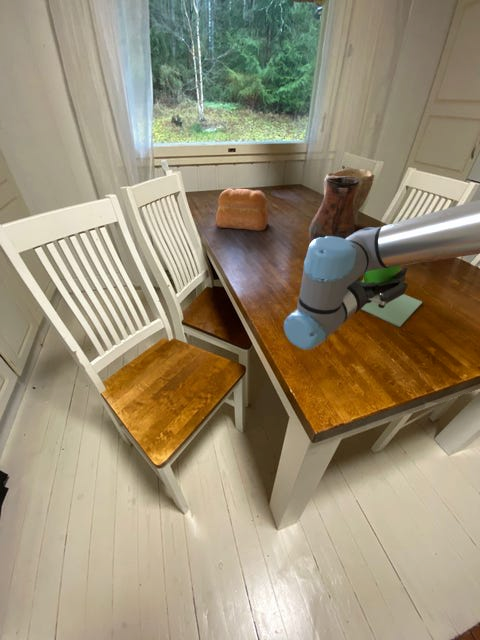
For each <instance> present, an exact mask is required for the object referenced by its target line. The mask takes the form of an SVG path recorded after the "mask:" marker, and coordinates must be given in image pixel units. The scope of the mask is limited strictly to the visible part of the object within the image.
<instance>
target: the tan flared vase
mask: <svg viewBox="0 0 480 640" xmlns="http://www.w3.org/2000/svg"><path fill="white" fill-rule="evenodd" d="M337 177H345V178H348V179H354V180H358V181H359V184H357V187H356V191H355V195H354V200H353V216H354V218H355V217H356V216H357V213H358V212H359V210H360V209H361V208H362V207H363V206H364V204H365V202H366V200H367V198H368V196H369V194H370V192H371V188H372V187H373V184H374V181H375V174H373V172H372V171H370V170H368V169H363V168H360V169H359V168H352V167H351V168H350V167H349V168H344V169H340V170H337V171H334V172H331V173H327V174H326V176H325V178H324V180H323V195H324V196H325V192H326V186H327V181H326V180H327V179H328V178H337Z"/></svg>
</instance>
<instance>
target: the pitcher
mask: <svg viewBox="0 0 480 640" xmlns="http://www.w3.org/2000/svg"><path fill="white" fill-rule="evenodd" d="M326 181H327V186H326V192H325V196H324V197H323V199H322V203H321V205H320V206H319V208H318V210H317V212H316V214H315V215H314V217H313V218H312V219H311V223H310V225H309V228H308V241H309V242H310V243H311V242H312V241H313V240H315V239H317V238H319V237H322V238H325V237H326V236H333V237H340V238H343V239H346V238H347V237H349V236H350V235H352V234H353V233H354V232H355V217H354V216H353V200H354V195H355V191H356V187H357V184H359V181H358V180H354V179H348V178H345V177H337V178H328V179H327V180H326ZM310 243H309V244H310Z"/></svg>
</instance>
